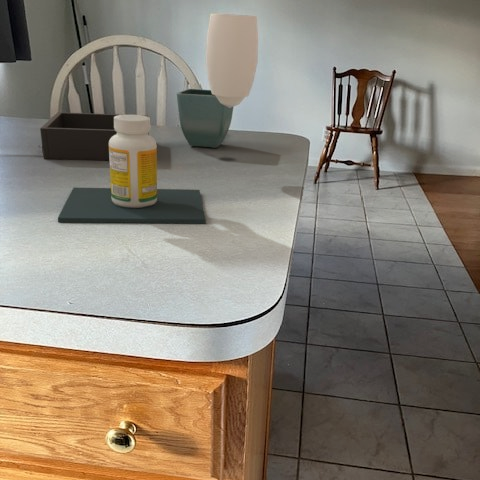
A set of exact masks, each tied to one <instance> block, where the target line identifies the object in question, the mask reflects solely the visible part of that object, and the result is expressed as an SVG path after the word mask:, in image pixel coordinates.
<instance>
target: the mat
mask: <svg viewBox="0 0 480 480" xmlns="http://www.w3.org/2000/svg"><path fill="white" fill-rule="evenodd" d="M57 222H58V223H100V224H101V223H103V224H104V223H105V224H107V223H109V224H110V223H111V224H112V223H113V224H198V225H199V224H207V219H206V214H205V209H204V204H203V200H202V195H201V191H200V189H188V188H187V189H185V188H182V189H180V188H157V201H156V203H155V204H153V205H151V206H147V207H142V208H127V207H121V206H118V205H116V204H114V203H113V201H112V198H111V187H73V188H72V190H71V192H70V193H69V195H68V197H67V199H66V201H65V203H64V205H63V206H62V209H61V211H60V213H59V215H58V216H57Z"/></svg>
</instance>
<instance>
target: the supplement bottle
mask: <svg viewBox="0 0 480 480" xmlns="http://www.w3.org/2000/svg"><path fill="white" fill-rule="evenodd" d="M142 115H143V114H122V115H118V116H115V117H114V128H115V131H117V134H116V135H114V136H112V137H111V138H110V140H109V160H108V161H109V177H110V188H111V198H112V201H113V203H114V204H116V205H118V206H121V207H127V208H142V207H147V206H151V205H153V204H155V203H156V201H157V189H158V158H157V157H158V147H157V142H156V140H155V138H153V136H151V135H150V134H149V135H148V132H149V133H150V132H151V129H152V127H151V118H150V117H149V116H148V117H147V116H142Z"/></svg>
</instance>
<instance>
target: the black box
mask: <svg viewBox="0 0 480 480" xmlns="http://www.w3.org/2000/svg"><path fill="white" fill-rule="evenodd" d="M118 115H123V113H122V114H119V113H117V114H116V113H95V112H94V113H92V112H91V113H89V112H65V111H64V112H63V111H60V112H59V111H57V112H56V113H55V114H54V115H52V117H51V118H50V119H48V121H47V122H45V123H44V124H43V125H42V126H41V127H40V129H39V130H40V137H41V138H40V139H41V146H42V147H41V148H42V154H43V160H73V161H76V160H77V161H110V160H109V140H110V138H111V137H112V136H114V135H116V134H117V131H115V128H114V117H115V116H118ZM141 115H142V116H147V117H149V115H148V114H147V115H145V114H141ZM148 135H149V136H150V131H149V132H148Z"/></svg>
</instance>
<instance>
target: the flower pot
mask: <svg viewBox="0 0 480 480" xmlns="http://www.w3.org/2000/svg"><path fill="white" fill-rule="evenodd" d="M176 102H177V109H178V111H177V112H178V119H179V124H180V128H181V131H182V134H183V136H184V139H185V140H186V142H187V143H188V145H189V146H191V147H204V148H212V149H216V148H218V147H219V146H221V145H222V144H223V142H224V141H225V139H226V136H227V135H228V132H229V129H230V127H231V123H232V119H233V114H234V106H233V107H231V108H229V107H227V106H225V105H223V104H221V103H220V102H219V100H218V99H217V97H216V96H215V95H213V94H212V93H211V89H201V88H186V89H183V90H181V91H178V92H176Z"/></svg>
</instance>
